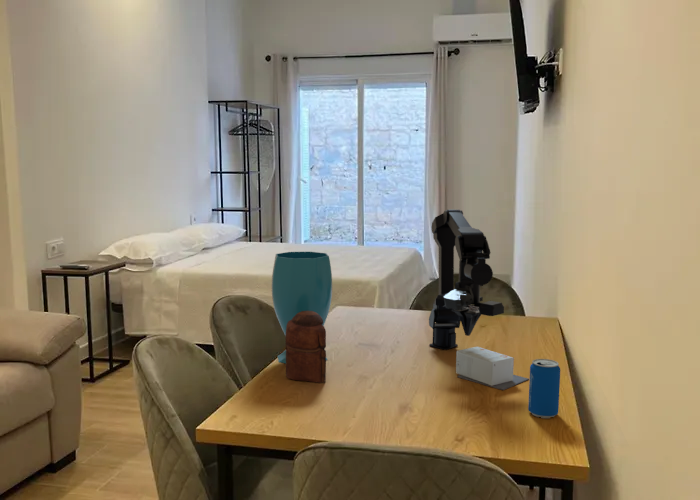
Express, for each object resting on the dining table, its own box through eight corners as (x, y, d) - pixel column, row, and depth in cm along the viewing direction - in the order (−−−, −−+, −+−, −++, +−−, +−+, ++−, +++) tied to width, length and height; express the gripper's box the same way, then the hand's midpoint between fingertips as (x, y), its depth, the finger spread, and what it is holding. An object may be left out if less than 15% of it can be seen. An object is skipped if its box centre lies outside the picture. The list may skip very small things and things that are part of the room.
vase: (336, 365, 182) (336, 258, 178) (273, 368, 179) (272, 259, 175) (327, 348, 199) (328, 250, 195) (270, 350, 196) (270, 251, 192)
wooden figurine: (332, 377, 172) (332, 310, 169) (323, 384, 166) (324, 315, 163) (290, 372, 175) (290, 306, 173) (280, 380, 169) (280, 311, 167)
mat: (457, 377, 173) (457, 375, 172) (483, 367, 181) (483, 366, 181) (503, 390, 163) (503, 389, 162) (528, 379, 171) (528, 378, 171)
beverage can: (524, 409, 150) (526, 358, 148) (551, 408, 150) (553, 358, 149) (534, 420, 144) (536, 367, 142) (562, 419, 144) (565, 366, 143)
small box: (455, 373, 175) (491, 386, 164) (455, 350, 174) (492, 361, 163) (477, 368, 179) (513, 381, 169) (477, 346, 179) (514, 357, 168)
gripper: (423, 277, 176) (421, 334, 178) (481, 286, 162) (479, 348, 164) (448, 272, 183) (447, 327, 185) (506, 281, 170) (503, 340, 172)
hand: (467, 335), depth 176 cm, fingers closed
